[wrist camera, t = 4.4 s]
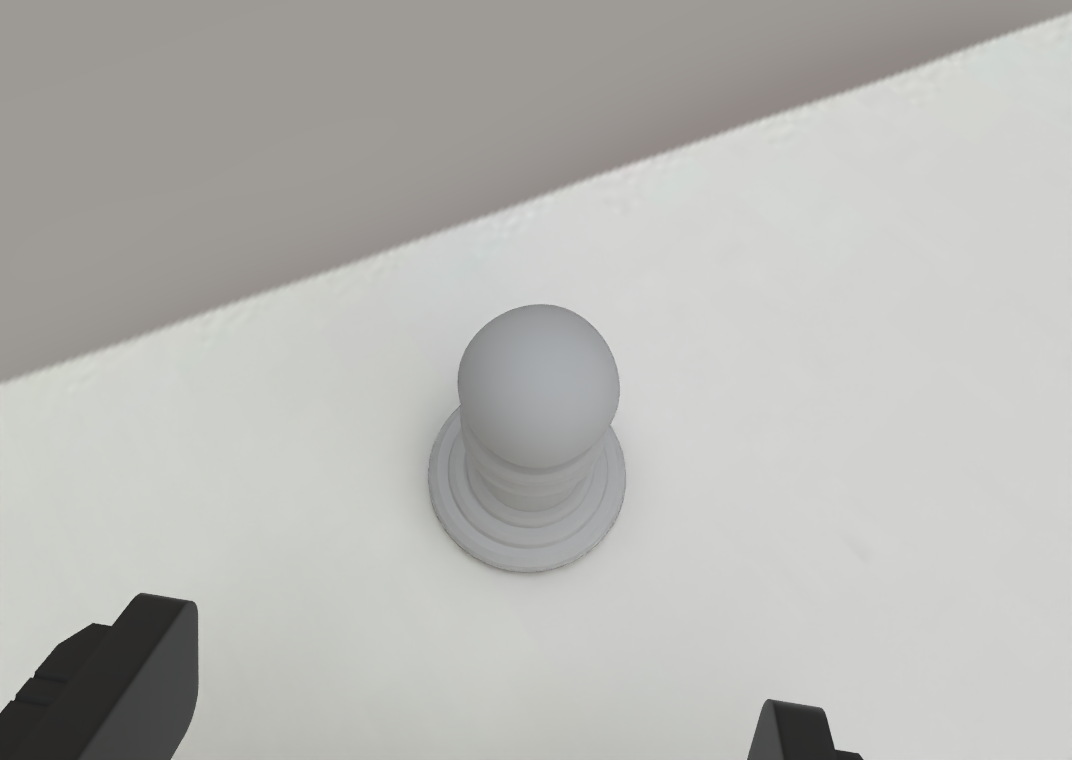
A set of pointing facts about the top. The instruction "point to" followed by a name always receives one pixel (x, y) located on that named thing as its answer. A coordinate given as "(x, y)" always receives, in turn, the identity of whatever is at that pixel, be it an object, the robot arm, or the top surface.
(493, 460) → the chess piece
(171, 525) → the top surface
